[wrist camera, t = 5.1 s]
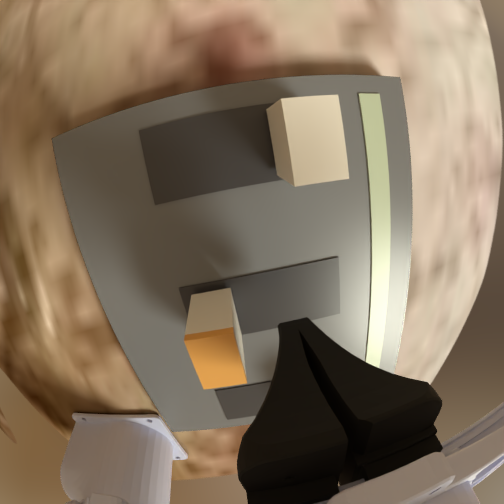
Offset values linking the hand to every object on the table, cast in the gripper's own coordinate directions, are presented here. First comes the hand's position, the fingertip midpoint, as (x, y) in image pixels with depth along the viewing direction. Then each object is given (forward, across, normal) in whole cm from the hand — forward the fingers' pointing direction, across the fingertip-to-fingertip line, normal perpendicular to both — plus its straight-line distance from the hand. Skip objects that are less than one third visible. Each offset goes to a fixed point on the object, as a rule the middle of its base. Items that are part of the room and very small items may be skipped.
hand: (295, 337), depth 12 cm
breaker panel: (+5, +1, 0) cm, 5 cm away
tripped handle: (+3, +4, 0) cm, 5 cm away
